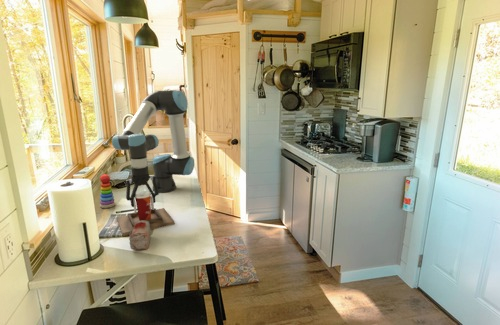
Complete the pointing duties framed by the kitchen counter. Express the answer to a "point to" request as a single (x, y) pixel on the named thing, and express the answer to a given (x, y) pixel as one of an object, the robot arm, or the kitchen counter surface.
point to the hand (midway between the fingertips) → (144, 210)
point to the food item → (140, 235)
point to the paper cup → (143, 205)
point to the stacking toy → (106, 193)
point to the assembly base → (157, 220)
